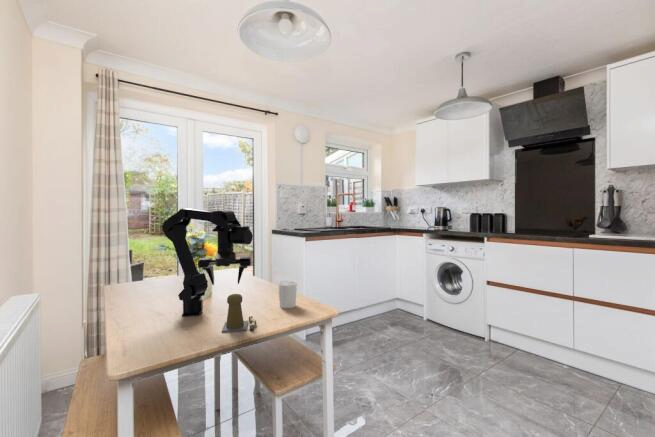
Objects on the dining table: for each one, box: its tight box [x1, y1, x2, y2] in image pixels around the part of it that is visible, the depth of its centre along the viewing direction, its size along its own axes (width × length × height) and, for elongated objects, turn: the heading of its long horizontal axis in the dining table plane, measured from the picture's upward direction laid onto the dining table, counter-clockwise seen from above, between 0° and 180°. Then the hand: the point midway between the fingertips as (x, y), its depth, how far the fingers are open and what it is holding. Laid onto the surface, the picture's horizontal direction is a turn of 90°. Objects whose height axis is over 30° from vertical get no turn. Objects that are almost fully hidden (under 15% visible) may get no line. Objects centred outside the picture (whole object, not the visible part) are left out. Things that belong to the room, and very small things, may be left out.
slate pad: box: [221, 320, 249, 334], centre depth 107 cm, size 8×8×1 cm
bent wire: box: [248, 315, 257, 332], centre depth 108 cm, size 3×10×2 cm, turn 11°
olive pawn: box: [226, 293, 244, 329], centre depth 106 cm, size 6×6×11 cm
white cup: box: [277, 280, 298, 310], centre depth 130 cm, size 8×8×10 cm
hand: (225, 284), depth 115 cm, fingers open, 9 cm apart
